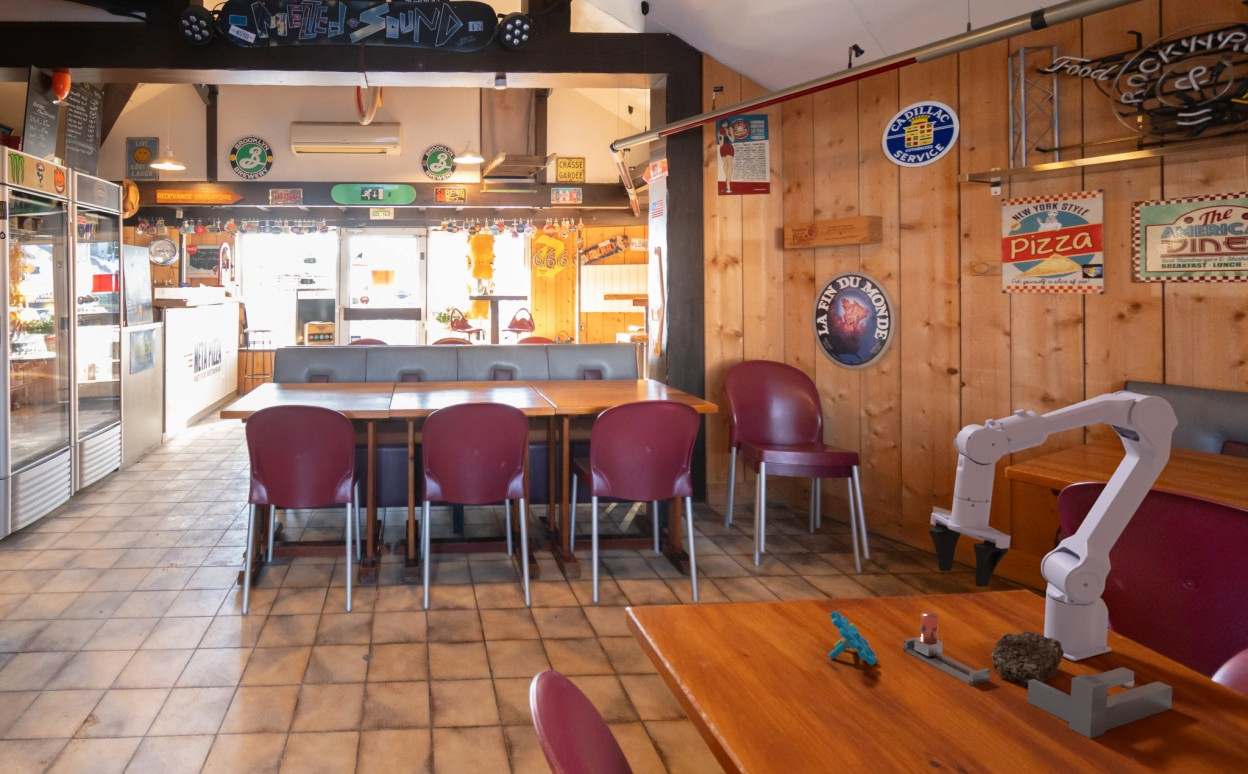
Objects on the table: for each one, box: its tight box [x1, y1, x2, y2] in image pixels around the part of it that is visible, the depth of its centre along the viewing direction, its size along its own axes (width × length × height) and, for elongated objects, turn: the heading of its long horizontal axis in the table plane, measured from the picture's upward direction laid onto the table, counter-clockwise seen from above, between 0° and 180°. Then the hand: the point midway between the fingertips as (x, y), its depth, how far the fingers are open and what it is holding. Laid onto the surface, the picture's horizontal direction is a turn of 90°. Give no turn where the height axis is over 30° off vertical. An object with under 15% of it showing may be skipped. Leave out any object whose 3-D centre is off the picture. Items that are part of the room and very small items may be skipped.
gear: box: [828, 610, 879, 667], centre depth 132 cm, size 11×6×10 cm
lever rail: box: [903, 636, 991, 686], centre depth 130 cm, size 4×14×2 cm, turn 25°
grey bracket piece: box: [1027, 667, 1174, 739], centre depth 116 cm, size 18×10×7 cm, turn 115°
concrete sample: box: [991, 630, 1064, 687], centre depth 128 cm, size 12×10×5 cm
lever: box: [914, 610, 943, 656], centre depth 132 cm, size 3×3×6 cm
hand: (962, 577), depth 136 cm, fingers open, 7 cm apart
